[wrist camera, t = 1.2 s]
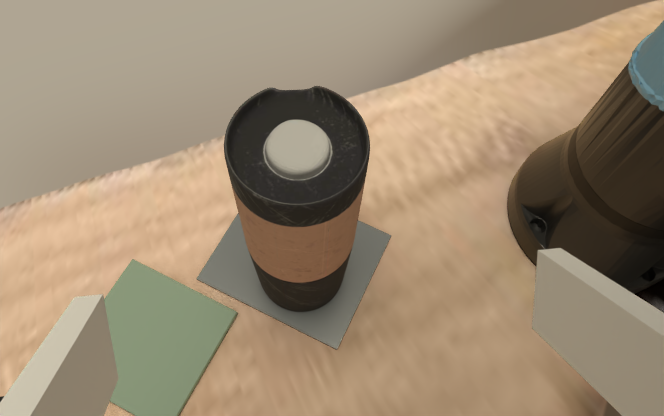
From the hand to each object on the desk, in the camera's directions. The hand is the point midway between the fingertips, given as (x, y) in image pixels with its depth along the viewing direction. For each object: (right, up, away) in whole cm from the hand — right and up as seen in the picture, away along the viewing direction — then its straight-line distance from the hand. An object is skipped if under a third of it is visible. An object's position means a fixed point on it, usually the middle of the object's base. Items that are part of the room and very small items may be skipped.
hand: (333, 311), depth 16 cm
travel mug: (-3, -2, +29) cm, 29 cm away
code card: (-3, -1, +30) cm, 30 cm away
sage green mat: (-14, -7, +26) cm, 31 cm away
